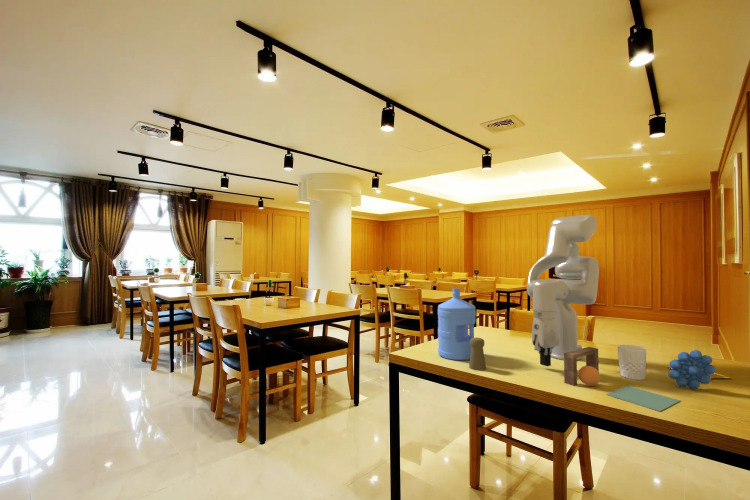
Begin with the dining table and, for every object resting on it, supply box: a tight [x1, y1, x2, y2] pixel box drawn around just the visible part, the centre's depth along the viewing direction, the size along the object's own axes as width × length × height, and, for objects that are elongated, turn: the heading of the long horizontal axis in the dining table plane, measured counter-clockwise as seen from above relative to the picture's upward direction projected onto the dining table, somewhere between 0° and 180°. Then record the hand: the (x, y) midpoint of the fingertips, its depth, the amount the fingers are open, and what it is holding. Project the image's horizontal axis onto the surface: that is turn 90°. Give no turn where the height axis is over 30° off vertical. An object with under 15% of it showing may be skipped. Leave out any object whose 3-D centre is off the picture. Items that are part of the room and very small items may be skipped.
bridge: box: [563, 346, 600, 386], centre depth 113 cm, size 3×15×10 cm, turn 120°
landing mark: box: [606, 385, 681, 412], centre depth 98 cm, size 13×13×1 cm
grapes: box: [668, 349, 717, 390], centre depth 106 cm, size 12×7×12 cm, turn 71°
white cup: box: [617, 344, 647, 381], centre depth 116 cm, size 8×8×10 cm
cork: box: [468, 337, 487, 371], centre depth 126 cm, size 6×6×11 cm
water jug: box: [437, 288, 477, 361], centre depth 143 cm, size 16×16×28 cm
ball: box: [577, 365, 601, 387], centre depth 108 cm, size 6×6×6 cm
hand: (545, 365), depth 124 cm, fingers closed
